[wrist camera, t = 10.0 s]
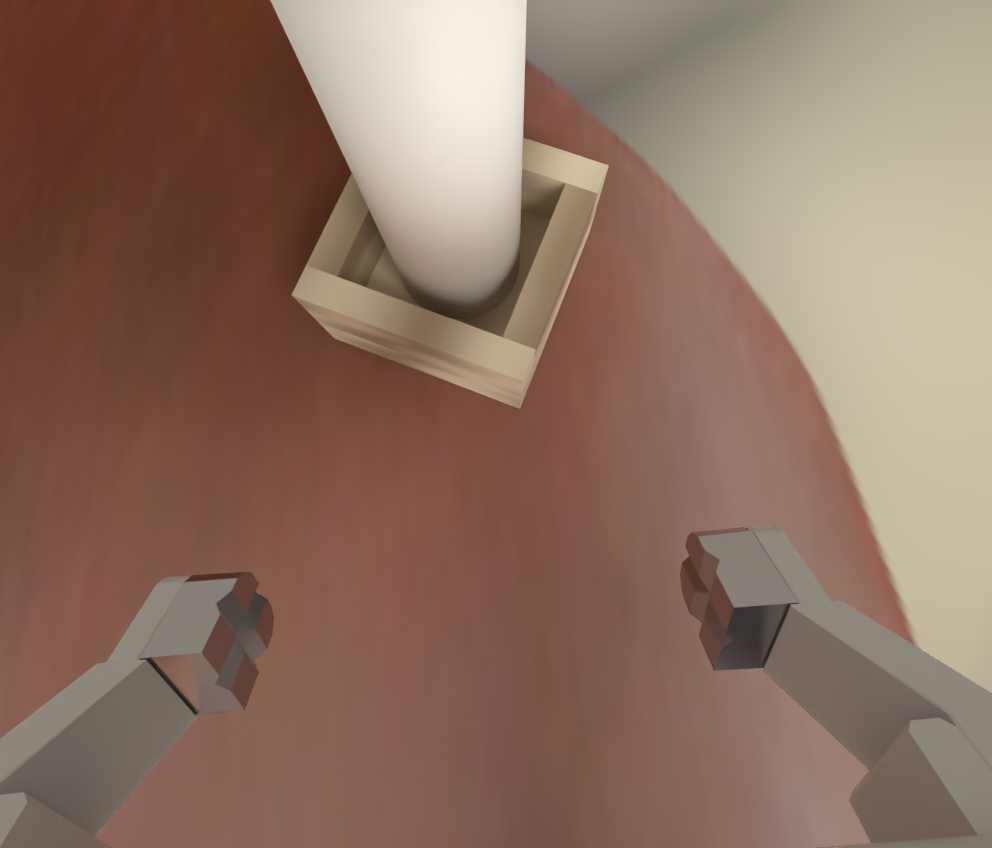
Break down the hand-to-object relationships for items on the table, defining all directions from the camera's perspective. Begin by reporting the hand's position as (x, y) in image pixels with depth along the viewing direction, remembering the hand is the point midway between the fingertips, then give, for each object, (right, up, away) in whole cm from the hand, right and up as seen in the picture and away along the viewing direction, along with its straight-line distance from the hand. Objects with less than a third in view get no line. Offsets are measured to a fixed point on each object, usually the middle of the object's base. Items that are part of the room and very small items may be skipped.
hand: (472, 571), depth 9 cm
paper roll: (-1, +10, +11) cm, 15 cm away
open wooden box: (-1, +9, +13) cm, 16 cm away
